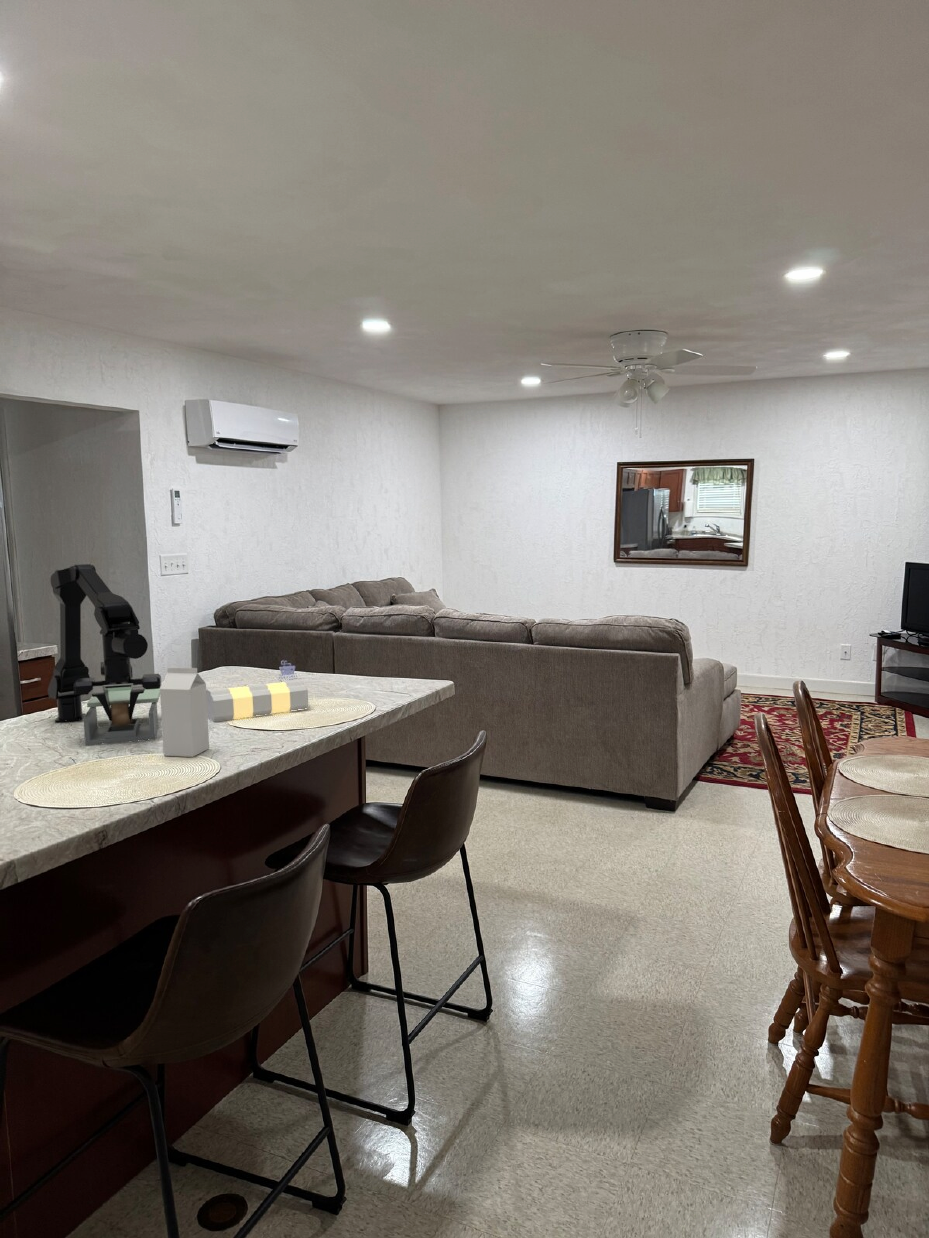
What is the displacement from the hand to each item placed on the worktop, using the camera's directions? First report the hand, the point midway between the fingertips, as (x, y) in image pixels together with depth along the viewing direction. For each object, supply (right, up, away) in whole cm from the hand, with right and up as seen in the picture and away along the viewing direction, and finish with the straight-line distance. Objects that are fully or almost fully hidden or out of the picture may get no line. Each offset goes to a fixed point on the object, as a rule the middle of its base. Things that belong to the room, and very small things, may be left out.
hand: (120, 719), depth 198 cm
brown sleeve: (0, -1, 0) cm, 1 cm away
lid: (-4, +4, +13) cm, 14 cm away
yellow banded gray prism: (+26, -2, +26) cm, 37 cm away
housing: (-1, -4, +3) cm, 6 cm away
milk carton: (+20, -6, -13) cm, 24 cm away
